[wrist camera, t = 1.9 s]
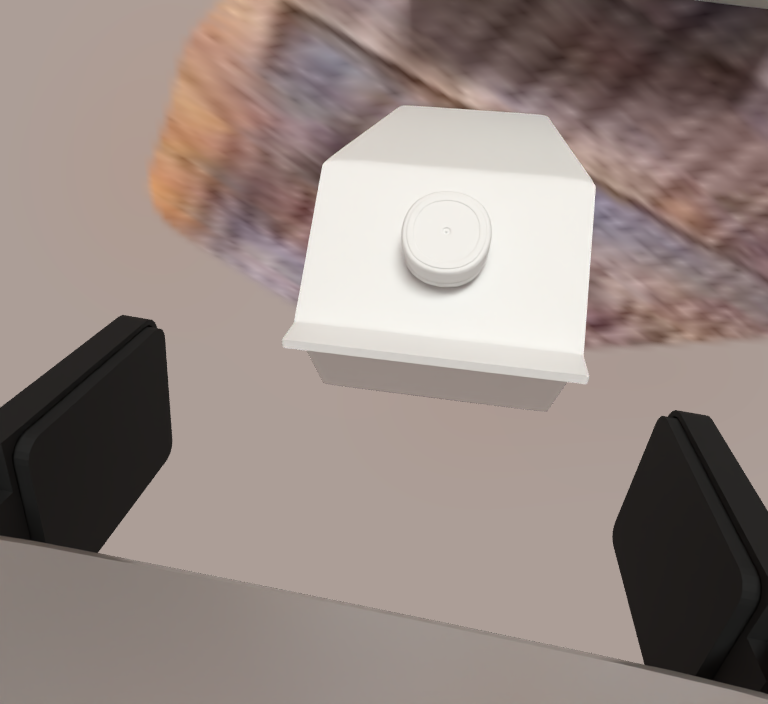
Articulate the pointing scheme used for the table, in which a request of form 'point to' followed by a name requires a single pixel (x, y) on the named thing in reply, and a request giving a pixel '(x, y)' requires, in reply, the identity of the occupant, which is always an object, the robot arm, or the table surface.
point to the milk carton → (450, 260)
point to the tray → (742, 3)
